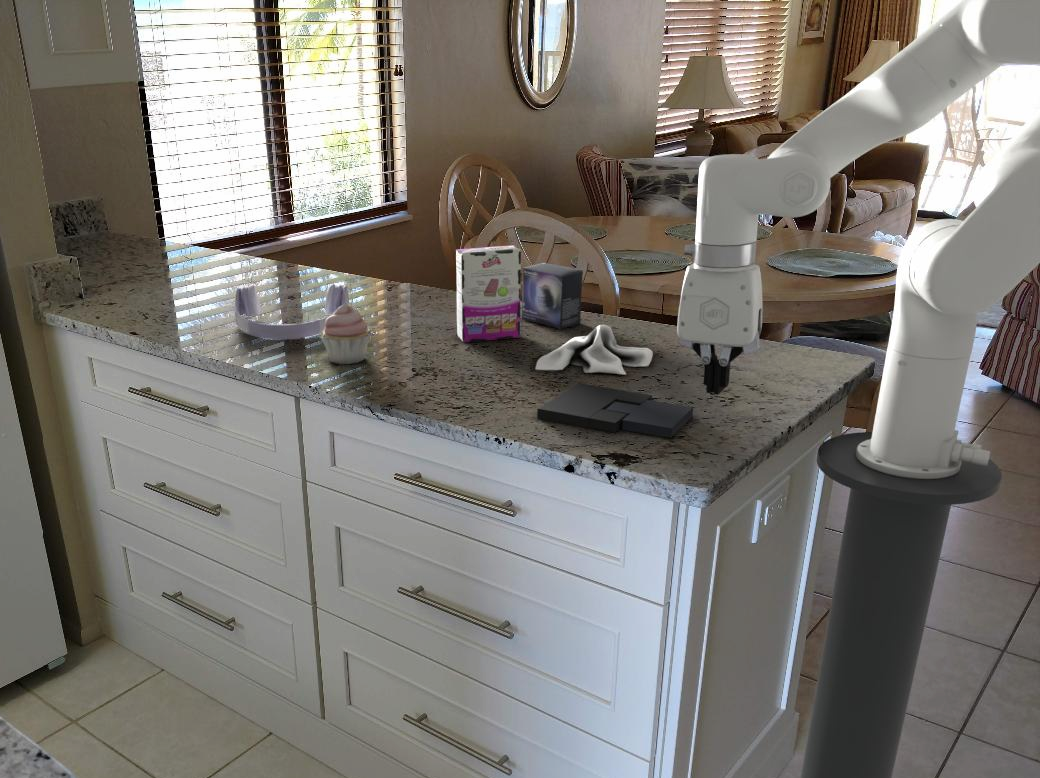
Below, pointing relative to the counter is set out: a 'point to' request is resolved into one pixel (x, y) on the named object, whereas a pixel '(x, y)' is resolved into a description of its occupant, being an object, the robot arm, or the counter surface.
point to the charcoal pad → (653, 417)
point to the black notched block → (590, 407)
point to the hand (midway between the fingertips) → (715, 390)
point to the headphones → (250, 306)
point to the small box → (551, 295)
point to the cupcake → (346, 336)
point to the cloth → (595, 354)
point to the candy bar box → (488, 293)
